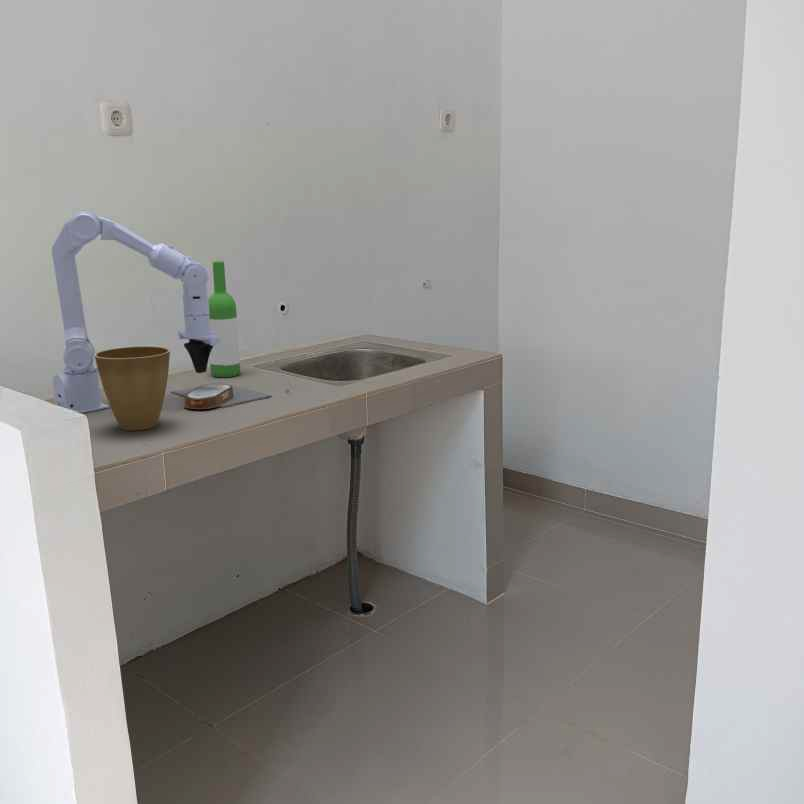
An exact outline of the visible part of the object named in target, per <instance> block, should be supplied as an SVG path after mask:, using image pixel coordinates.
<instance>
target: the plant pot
mask: <svg viewBox="0 0 804 804" xmlns="http://www.w3.org/2000/svg"><path fill="white" fill-rule="evenodd" d="M170 354H171V350H170V349H169V348H166V347H162V346H150V345H149V346H147V345H145V346H143V345H142V346H128V347H127V346H125V347H117V348H109V349H105V350H101V351H98V352H96V353H94V361H95V364H96V366H97V368H98V376H99V378H100V379H99V380H100V382H101V385H102V388H103V391H104V394H105V397H106V399H107V402H108V405H109V408H110V409H111V412H112V413H113V416H114V418H115V420H116V422H117V424H118V426H119V428H120V429H121V430H123V431H129V432H130V431H131V432H135V431H136V432H137V431H144V430H145V431H146V430H150V429H153V428H156V427H157V426H158V424H159V423H158V422H159V419H160V416H161V412H162V409H163V404H164V401H165V397H166V390H167V385H168V377H169V369H170V368H169V366H170Z"/></svg>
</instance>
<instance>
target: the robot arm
mask: <svg viewBox="0 0 804 804" xmlns="http://www.w3.org/2000/svg"><path fill="white" fill-rule="evenodd" d="M99 235H100V241H115V242H118V243H120V244H122V245H123V246H125V247H128V248H129V249H131V250H133V251H135V252H136V253H139V254H141V255H142V256H145V257H147V259H148V263H149V265H150V267H153V269H154V268H155V270H158V271H160V272H162V273H164V274H165V275H167V276H169V277H171V278H173V279H174V280H179V279H180V281H181V282H182V290H183V295H182V304H183V315H184V316H183V319H184V329H180V330H178V331H177V333H178V335H177V336H178V340H189V341H188V342H185V343H183V347H184V349H186V351H187V353H188V355H189V357H190V359H191V361H192V365H193V368H194V371H195V373H197V374H202V373H206V372H207V368H208V363H209V360H210V356H209V355H210V353H211V350H212V348H213V346H214V345H220V341H219V336H216V335H214V334H215V332H214V331H211V330H210V316H209V301H208V299H209V294H208V286H207V284H208V281H209V278H210V277H209V274H208V271H207V270H206V268H205V267H204V266H203V265H202V264H201V263H199V262H198V261H197V260H193V257H192V256H191V255H187V256H186V255H185V254H183V253H180V252H179V251H177V250H176V249H174V246H173V245H172V244H170V243H168V244H165V243H158V244H152V243H151V242H150V241H148V240H146V239H144V238H143V237H141V236H139V235H138V234H136V233H134V232H133V231H131V230H129V229H127V228H125V226H122V224H119V223H117V222H116V221H113V220H111V219H108V218H106V217H103V216H97V215H96V214H95V213H94V212H91V211H88V210H81V211H78V212H76V213H75V214H74V215H72V216H71V217H70V218H69V219H68V220H67V221H66V222H65V223H64V224H63V226H62V228H61V230H60V232H59V234H58V236H57V238H56V240H55V241H54V242H53V244H52V247H51V255H52V261H53V268H54V274H55V280H56V285H57V291H58V297H59V304H60V305H59V306H60V310H61V317H62V323H63V330H64V331H63V332H64V342H65V350H64V352H63V359H62V360H63V363H64V365H65V367H64V368H63V372H61V373H59V374H56V375H54V376H53V377H52V378H53V379H52V389H53V390H52V391H53V395H54V396H53V397H54V405H55V404H56V405H59V406H62V407H65V408H68V409H72V410H75V411H78V412H81V413H80V414H83V413H88V412H94V411H99V410H103V409H109V408H110V405H109V404H105V403H103V402H102V397H101V389H100V387H101V386H100V379H99V378H100V375H99V372H98V368H97V364H96V365H95V364H94V361H95V356H94V355H95V354H96V353H95V352H96V351H95V347H94V345H93V344H92V342H91V341H90V339H89V336H88V335H89V334H88V330H87V324H86V319H85V313H84V307H83V300H82V293H81V288H80V281H79V274H78V268H77V262H76V256H77V255H78V253H79V252H80V251H81V250H82V248H83V247H84V246H86V245H87V244H89V243H91V242H92V241H94V240H95V239H96V238H98V237H99Z"/></svg>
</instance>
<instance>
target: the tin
mask: <svg viewBox="0 0 804 804" xmlns="http://www.w3.org/2000/svg"><path fill="white" fill-rule="evenodd" d="M207 384H208V385H205V384H202V385H203V386H200V385H199V386H200V387H198V388H196V389H194V390H192V391H190V392H188V393H187V394H185V396H183V397H184V407H185V408H187V409H191V410H208V409H213V408H219V407H218V406H220V405H222V404H223V403H225V402H227V401H228V400H230V399H232V398H233V397H234V396H233V388H232V386H231V385H232V384H231V385H220V384H210V383H207Z"/></svg>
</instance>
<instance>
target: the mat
mask: <svg viewBox="0 0 804 804" xmlns="http://www.w3.org/2000/svg"><path fill="white" fill-rule="evenodd" d="M208 384H220V385H231V386H232V388H233V396H234V397H233V398H232V399H230V400H228V401H227V402H225V403H223V404H222V405H220V406H218V407H217V408H221V409H223V408H229V407H232V406H238V405H241V403H242V404H246V402H247V403H251V402H255V401H254V400H256V401H259V399H260V400H264V399H263V398H265V399H268V398H267V397H269V398H272V397H273V395H272V394H269V393H264V392H261V391H257V390H254V389H249V388H245V387H242V386H237V385H234V384H230V383H226V382H222V381H216V382H211V383H207V384H206V383H205V384H202V385H201V384H200V385H196V386H192V387H187V388H181V389H176V390H171V391H170V393H171V394H173V393H174V395H178V396H181V397H184V396H185V394H187V393H188V392H190V391H192V390H194V389H196V388H198V387H200V386H203V385H208ZM250 401H251V402H250ZM237 404H238V405H237ZM228 406H229V407H228Z"/></svg>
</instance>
